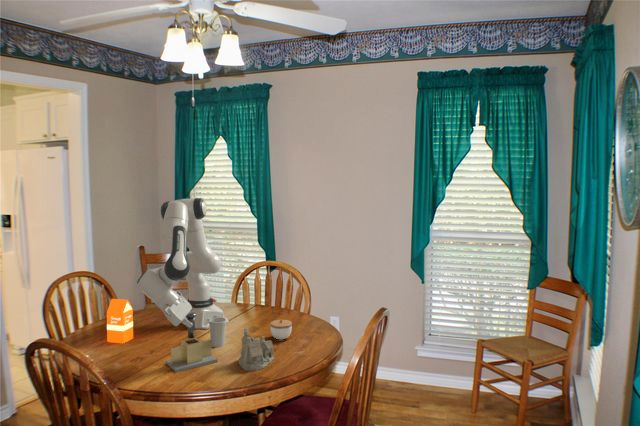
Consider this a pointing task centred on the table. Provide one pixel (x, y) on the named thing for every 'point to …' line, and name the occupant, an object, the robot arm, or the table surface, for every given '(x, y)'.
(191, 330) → the hinge pin
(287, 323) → the lidded jar
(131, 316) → the orange juice
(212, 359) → the board
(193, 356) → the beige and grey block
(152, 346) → the table surface
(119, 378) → the table surface
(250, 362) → the ceramic cottage
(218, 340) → the cup
